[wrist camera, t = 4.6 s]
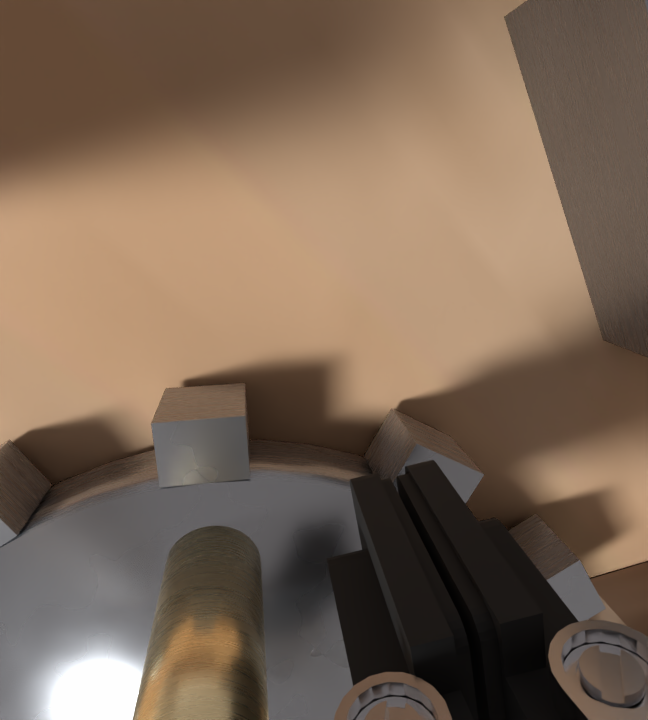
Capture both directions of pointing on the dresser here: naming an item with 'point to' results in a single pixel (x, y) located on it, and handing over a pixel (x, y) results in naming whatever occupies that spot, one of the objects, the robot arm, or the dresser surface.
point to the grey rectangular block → (595, 142)
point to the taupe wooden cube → (624, 597)
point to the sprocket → (204, 569)
